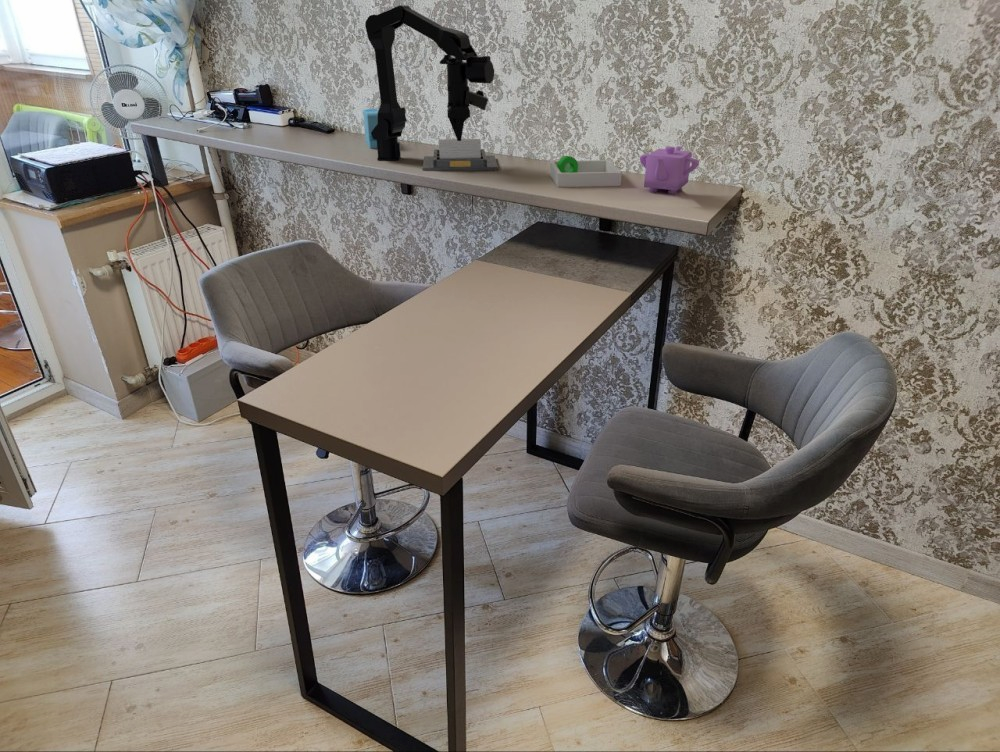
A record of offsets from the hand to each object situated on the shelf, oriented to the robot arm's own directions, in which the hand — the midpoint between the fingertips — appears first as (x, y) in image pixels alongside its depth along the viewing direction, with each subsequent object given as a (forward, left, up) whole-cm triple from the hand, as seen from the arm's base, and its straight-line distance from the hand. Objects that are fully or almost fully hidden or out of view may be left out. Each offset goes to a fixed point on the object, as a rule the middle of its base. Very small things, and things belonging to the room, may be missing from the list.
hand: (459, 140), depth 200 cm
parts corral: (+34, -17, -8) cm, 39 cm away
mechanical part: (+26, -13, -11) cm, 31 cm away
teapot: (+53, -31, -8) cm, 62 cm away
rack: (0, +5, -8) cm, 10 cm away
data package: (-28, +35, -8) cm, 46 cm away
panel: (0, 0, -7) cm, 7 cm away
